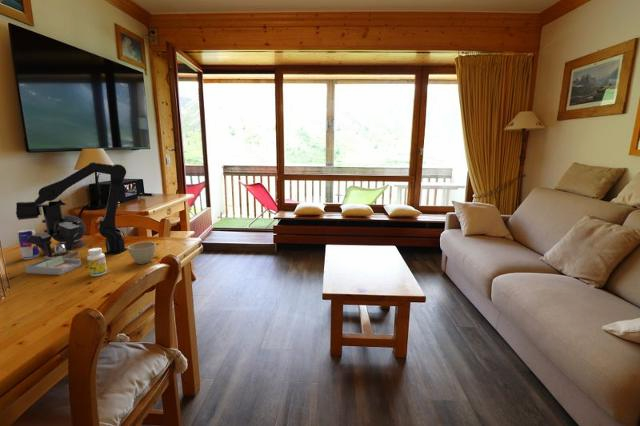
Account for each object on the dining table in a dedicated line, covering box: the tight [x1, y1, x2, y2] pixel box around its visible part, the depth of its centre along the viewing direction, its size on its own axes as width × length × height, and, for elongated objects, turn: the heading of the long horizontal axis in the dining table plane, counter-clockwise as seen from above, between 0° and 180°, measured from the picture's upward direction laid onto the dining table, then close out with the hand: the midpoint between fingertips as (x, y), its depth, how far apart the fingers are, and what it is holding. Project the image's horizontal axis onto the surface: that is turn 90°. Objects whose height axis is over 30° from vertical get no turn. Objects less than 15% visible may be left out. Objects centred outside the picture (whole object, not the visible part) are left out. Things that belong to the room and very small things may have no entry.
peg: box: [53, 243, 67, 256], centre depth 127 cm, size 4×4×6 cm
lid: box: [35, 256, 65, 267], centre depth 119 cm, size 7×7×3 cm
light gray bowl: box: [127, 241, 157, 265], centre depth 126 cm, size 10×10×7 cm
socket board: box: [42, 250, 80, 260], centre depth 128 cm, size 8×8×2 cm
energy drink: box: [16, 228, 40, 260], centre depth 129 cm, size 5×5×12 cm
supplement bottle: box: [86, 247, 108, 277], centre depth 114 cm, size 5×5×10 cm
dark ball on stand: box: [51, 214, 87, 251], centre depth 143 cm, size 13×13×15 cm
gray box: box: [24, 258, 82, 276], centre depth 119 cm, size 14×9×3 cm, turn 85°
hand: (60, 253), depth 128 cm, fingers open, 9 cm apart
